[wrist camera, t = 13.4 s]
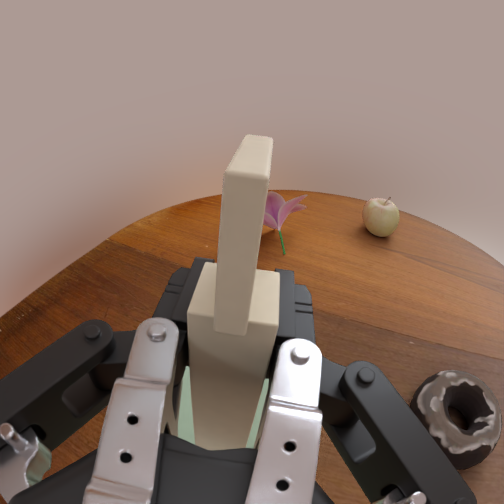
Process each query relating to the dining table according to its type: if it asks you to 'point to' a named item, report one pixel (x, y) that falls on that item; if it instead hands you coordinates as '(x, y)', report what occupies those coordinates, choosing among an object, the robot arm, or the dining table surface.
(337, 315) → the dining table surface
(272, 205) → the lily
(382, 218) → the fruit
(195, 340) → the cream offset-tab post
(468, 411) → the donut
